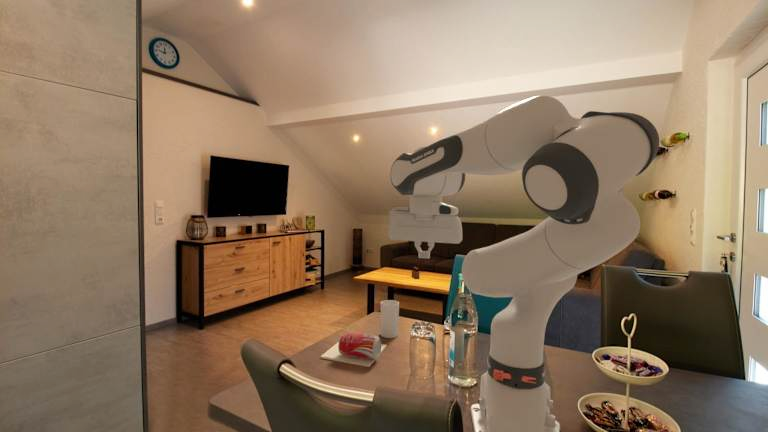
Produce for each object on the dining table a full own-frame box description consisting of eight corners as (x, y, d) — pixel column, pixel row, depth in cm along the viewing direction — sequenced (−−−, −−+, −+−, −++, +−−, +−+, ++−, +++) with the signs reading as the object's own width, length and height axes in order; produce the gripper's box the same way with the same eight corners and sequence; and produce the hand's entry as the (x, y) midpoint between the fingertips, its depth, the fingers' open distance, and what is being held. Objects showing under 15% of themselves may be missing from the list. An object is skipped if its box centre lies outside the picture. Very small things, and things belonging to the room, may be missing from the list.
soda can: (380, 361, 109) (344, 356, 113) (383, 337, 112) (348, 333, 116) (373, 359, 103) (335, 354, 107) (376, 334, 106) (339, 330, 110)
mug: (395, 339, 126) (395, 306, 125) (377, 337, 128) (377, 303, 128) (403, 330, 135) (403, 299, 135) (386, 328, 137) (387, 297, 137)
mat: (369, 367, 104) (369, 365, 104) (320, 358, 109) (320, 356, 109) (386, 346, 119) (386, 344, 119) (343, 339, 125) (343, 338, 125)
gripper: (385, 206, 98) (384, 256, 99) (461, 208, 91) (459, 262, 92) (392, 206, 104) (391, 254, 104) (464, 208, 97) (462, 259, 98)
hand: (424, 258), depth 98 cm, fingers closed
